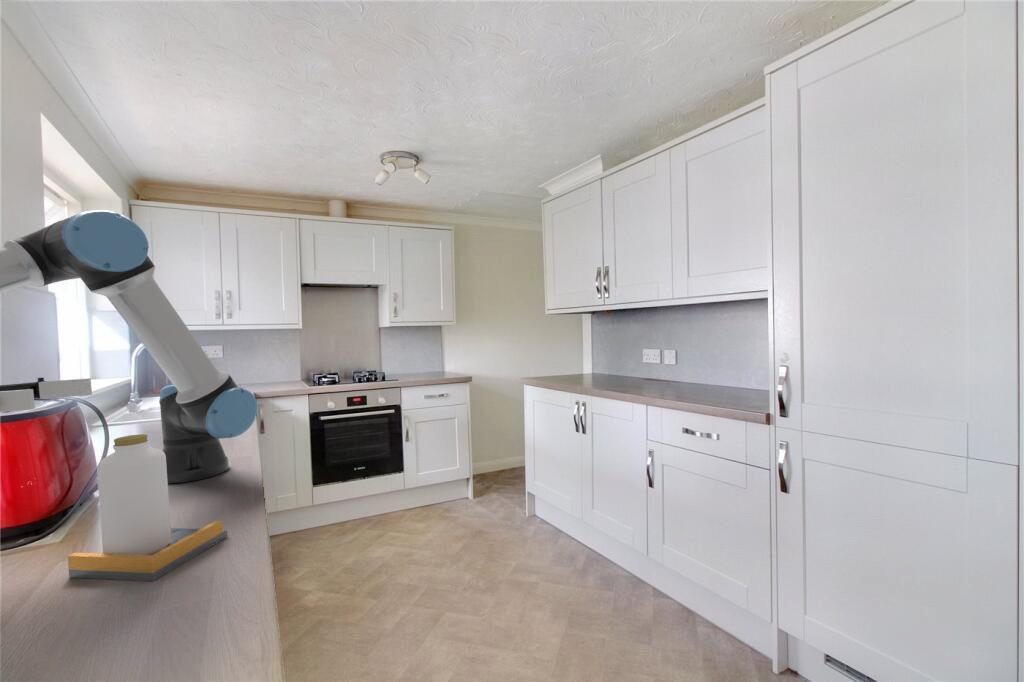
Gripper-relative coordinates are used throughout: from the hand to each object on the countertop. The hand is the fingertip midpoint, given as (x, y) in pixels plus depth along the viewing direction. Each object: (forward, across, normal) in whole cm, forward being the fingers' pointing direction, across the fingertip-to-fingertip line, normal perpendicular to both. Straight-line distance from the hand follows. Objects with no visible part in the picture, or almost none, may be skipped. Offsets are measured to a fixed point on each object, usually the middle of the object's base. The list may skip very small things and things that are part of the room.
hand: (64, 392), depth 70 cm
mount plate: (+10, 0, -27) cm, 29 cm away
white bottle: (+8, +1, -26) cm, 27 cm away
